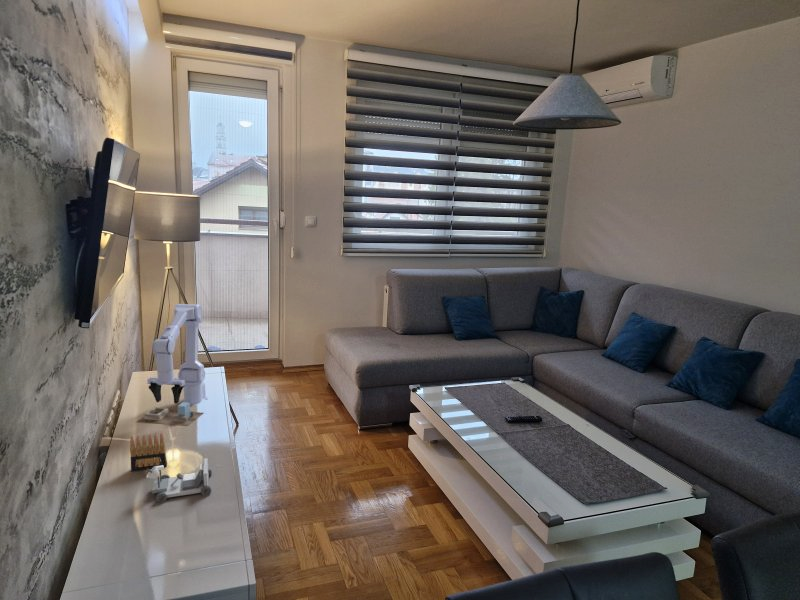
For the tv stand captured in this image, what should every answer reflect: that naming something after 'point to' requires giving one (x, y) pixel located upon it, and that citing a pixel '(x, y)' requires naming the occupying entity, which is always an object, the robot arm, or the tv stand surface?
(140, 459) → the ammunition clip
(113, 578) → the tv stand surface
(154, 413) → the brown tray
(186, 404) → the plug
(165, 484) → the toy car
